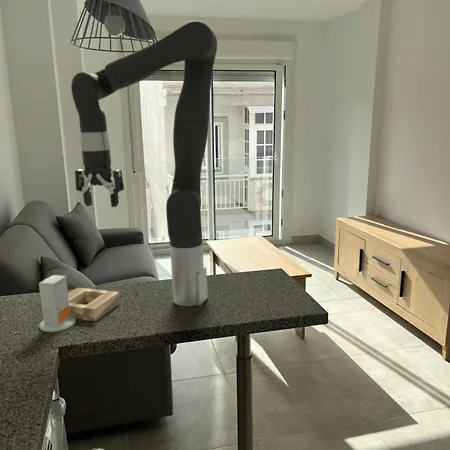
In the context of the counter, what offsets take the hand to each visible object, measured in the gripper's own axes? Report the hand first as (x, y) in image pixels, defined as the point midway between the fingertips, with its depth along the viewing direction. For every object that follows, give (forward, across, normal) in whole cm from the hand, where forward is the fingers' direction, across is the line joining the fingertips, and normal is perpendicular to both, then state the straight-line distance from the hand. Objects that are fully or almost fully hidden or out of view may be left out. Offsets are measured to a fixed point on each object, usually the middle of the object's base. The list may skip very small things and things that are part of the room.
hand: (101, 206), depth 125 cm
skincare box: (+28, +4, +19) cm, 34 cm away
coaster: (+28, +4, +19) cm, 34 cm away
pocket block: (+28, +2, +9) cm, 30 cm away
